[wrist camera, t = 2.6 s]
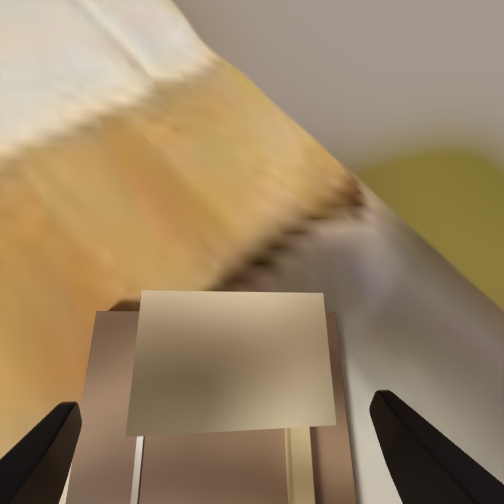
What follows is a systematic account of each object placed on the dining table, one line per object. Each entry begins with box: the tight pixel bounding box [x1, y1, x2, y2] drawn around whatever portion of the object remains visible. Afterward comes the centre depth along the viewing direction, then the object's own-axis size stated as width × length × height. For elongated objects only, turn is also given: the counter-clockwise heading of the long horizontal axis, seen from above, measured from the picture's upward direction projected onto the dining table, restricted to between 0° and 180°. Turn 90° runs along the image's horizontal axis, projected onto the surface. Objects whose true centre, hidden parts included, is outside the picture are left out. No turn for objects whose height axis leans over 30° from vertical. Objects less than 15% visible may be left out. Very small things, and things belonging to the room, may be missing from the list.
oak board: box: [66, 311, 356, 504], centre depth 14 cm, size 18×14×3 cm
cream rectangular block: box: [126, 291, 337, 437], centre depth 13 cm, size 4×7×8 cm, turn 91°
